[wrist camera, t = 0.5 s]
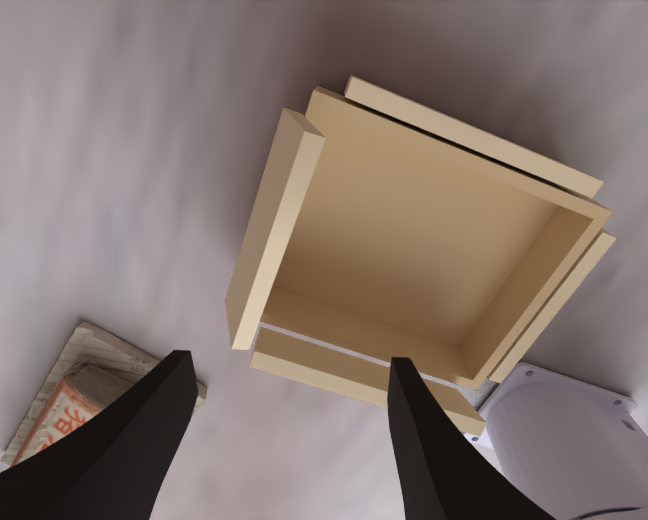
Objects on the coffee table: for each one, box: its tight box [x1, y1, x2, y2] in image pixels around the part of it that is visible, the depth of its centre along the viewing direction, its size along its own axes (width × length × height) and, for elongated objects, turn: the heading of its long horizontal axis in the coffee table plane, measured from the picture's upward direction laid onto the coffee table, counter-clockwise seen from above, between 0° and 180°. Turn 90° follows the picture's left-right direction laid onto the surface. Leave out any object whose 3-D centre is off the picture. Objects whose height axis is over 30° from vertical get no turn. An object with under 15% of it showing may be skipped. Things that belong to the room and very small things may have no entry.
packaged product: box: [0, 321, 208, 468], centre depth 29 cm, size 18×5×10 cm
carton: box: [260, 75, 617, 390], centre depth 21 cm, size 16×13×3 cm
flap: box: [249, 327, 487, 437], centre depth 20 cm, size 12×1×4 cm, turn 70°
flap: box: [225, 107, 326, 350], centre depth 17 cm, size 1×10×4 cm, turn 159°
